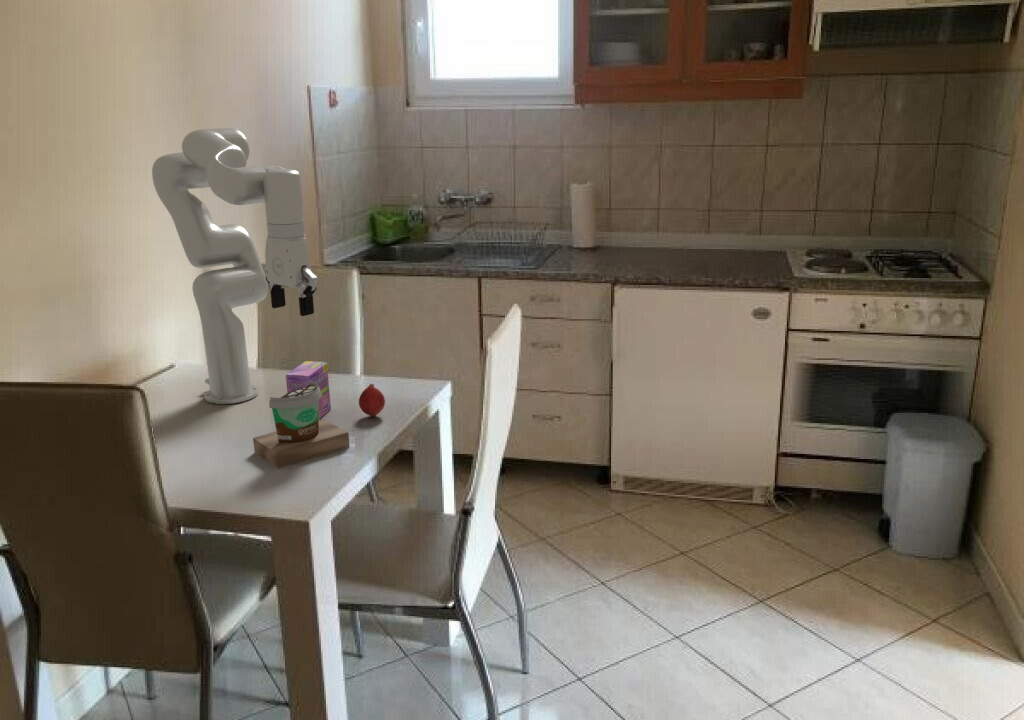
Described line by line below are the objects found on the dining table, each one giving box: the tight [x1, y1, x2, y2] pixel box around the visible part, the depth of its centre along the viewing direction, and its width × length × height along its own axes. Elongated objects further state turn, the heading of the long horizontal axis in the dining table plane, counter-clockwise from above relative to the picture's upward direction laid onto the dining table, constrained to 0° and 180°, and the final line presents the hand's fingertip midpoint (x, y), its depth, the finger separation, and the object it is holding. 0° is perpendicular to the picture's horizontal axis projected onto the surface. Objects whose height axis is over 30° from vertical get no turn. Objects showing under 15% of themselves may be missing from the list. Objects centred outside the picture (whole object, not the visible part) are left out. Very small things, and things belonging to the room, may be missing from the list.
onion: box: [358, 383, 386, 418], centre depth 193 cm, size 6×6×8 cm
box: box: [285, 360, 332, 420], centre depth 193 cm, size 10×6×12 cm, turn 168°
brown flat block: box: [252, 418, 351, 469], centre depth 176 cm, size 11×16×4 cm
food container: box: [268, 381, 322, 443], centre depth 173 cm, size 12×6×10 cm, turn 151°
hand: (292, 310), depth 180 cm, fingers open, 9 cm apart
